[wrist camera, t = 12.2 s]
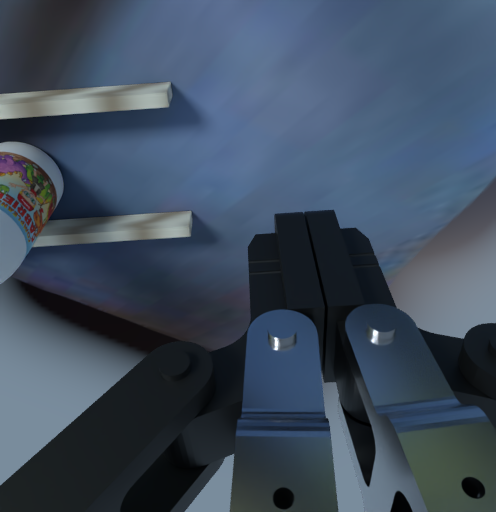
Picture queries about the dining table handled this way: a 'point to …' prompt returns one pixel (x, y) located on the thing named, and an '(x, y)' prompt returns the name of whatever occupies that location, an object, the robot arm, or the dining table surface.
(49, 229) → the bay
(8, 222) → the milk bottle
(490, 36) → the dining table surface
